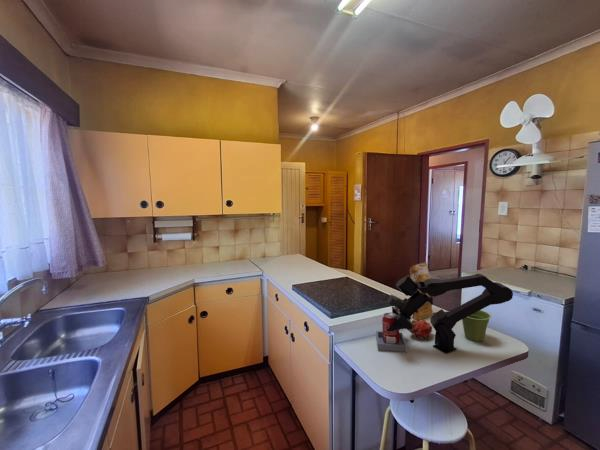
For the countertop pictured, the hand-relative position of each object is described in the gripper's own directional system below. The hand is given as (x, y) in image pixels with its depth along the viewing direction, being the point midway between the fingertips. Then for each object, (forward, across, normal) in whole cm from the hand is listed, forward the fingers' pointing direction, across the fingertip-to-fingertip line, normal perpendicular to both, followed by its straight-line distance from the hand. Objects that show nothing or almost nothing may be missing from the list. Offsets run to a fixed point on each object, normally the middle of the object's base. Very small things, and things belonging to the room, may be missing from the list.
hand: (387, 327), depth 118 cm
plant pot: (-21, -11, +33) cm, 41 cm away
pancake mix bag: (-9, -33, +20) cm, 40 cm away
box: (+5, 0, +6) cm, 8 cm away
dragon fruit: (-5, -10, +17) cm, 20 cm away
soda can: (+4, 0, +6) cm, 7 cm away
